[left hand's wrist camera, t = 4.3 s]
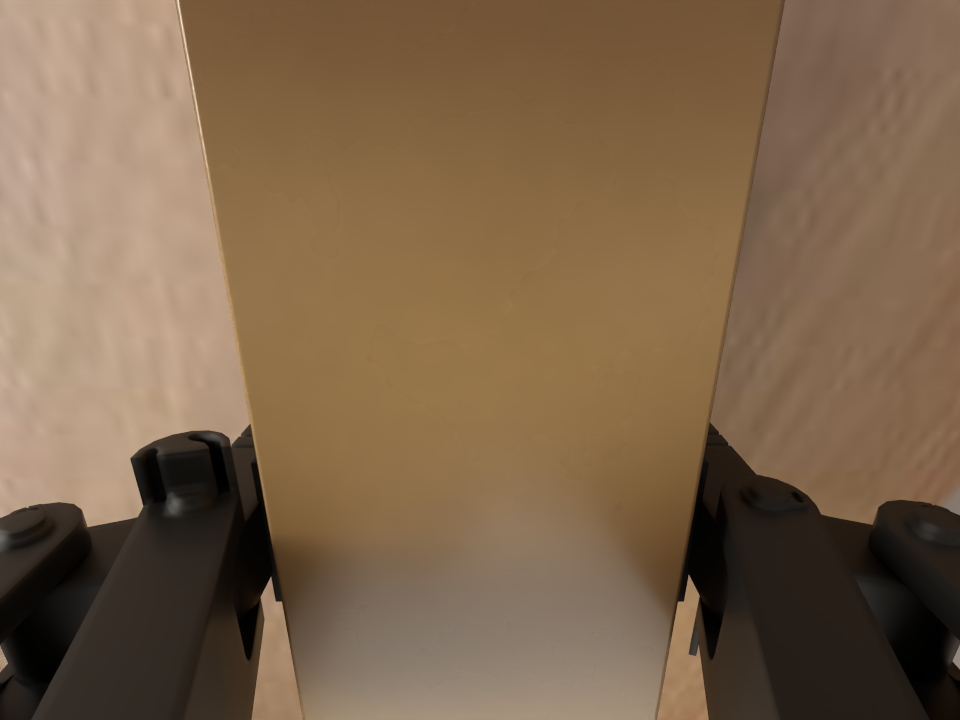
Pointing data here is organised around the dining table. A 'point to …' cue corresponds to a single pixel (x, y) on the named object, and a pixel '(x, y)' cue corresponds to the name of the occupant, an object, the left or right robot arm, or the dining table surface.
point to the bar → (480, 328)
